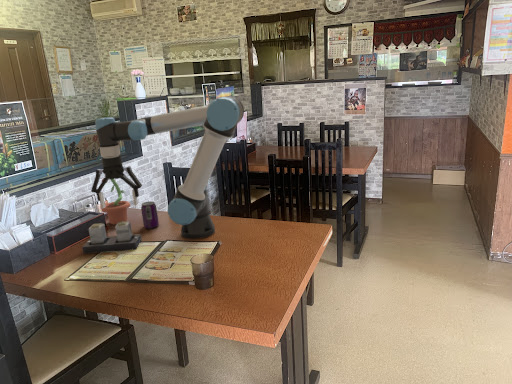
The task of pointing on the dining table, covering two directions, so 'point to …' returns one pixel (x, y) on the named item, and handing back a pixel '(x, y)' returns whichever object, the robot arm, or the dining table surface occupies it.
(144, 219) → the beverage can
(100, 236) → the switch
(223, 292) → the dining table surface
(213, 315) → the dining table surface
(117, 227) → the block
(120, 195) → the decorative flower
